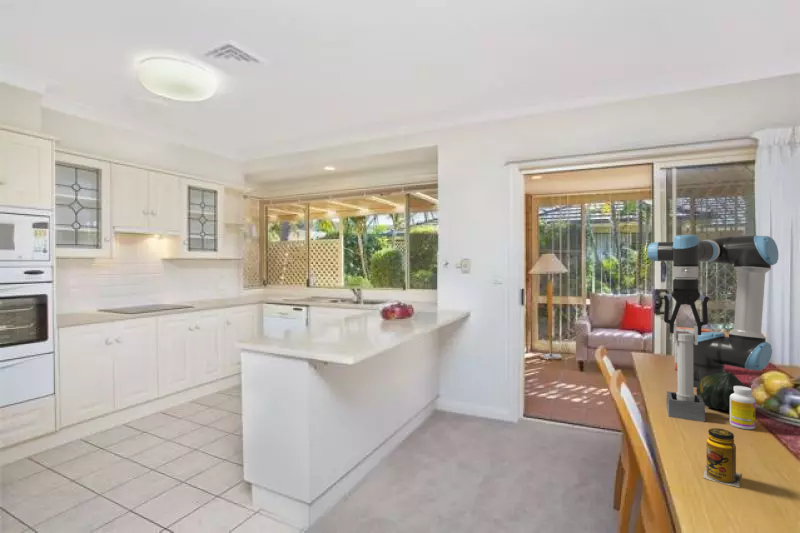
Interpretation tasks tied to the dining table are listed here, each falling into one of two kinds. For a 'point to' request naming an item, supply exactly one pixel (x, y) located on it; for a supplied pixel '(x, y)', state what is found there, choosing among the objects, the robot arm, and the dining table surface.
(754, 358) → the robot arm
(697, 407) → the collar
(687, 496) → the dining table surface
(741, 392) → the supplement bottle
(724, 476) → the condiment
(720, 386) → the squash
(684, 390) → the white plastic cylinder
